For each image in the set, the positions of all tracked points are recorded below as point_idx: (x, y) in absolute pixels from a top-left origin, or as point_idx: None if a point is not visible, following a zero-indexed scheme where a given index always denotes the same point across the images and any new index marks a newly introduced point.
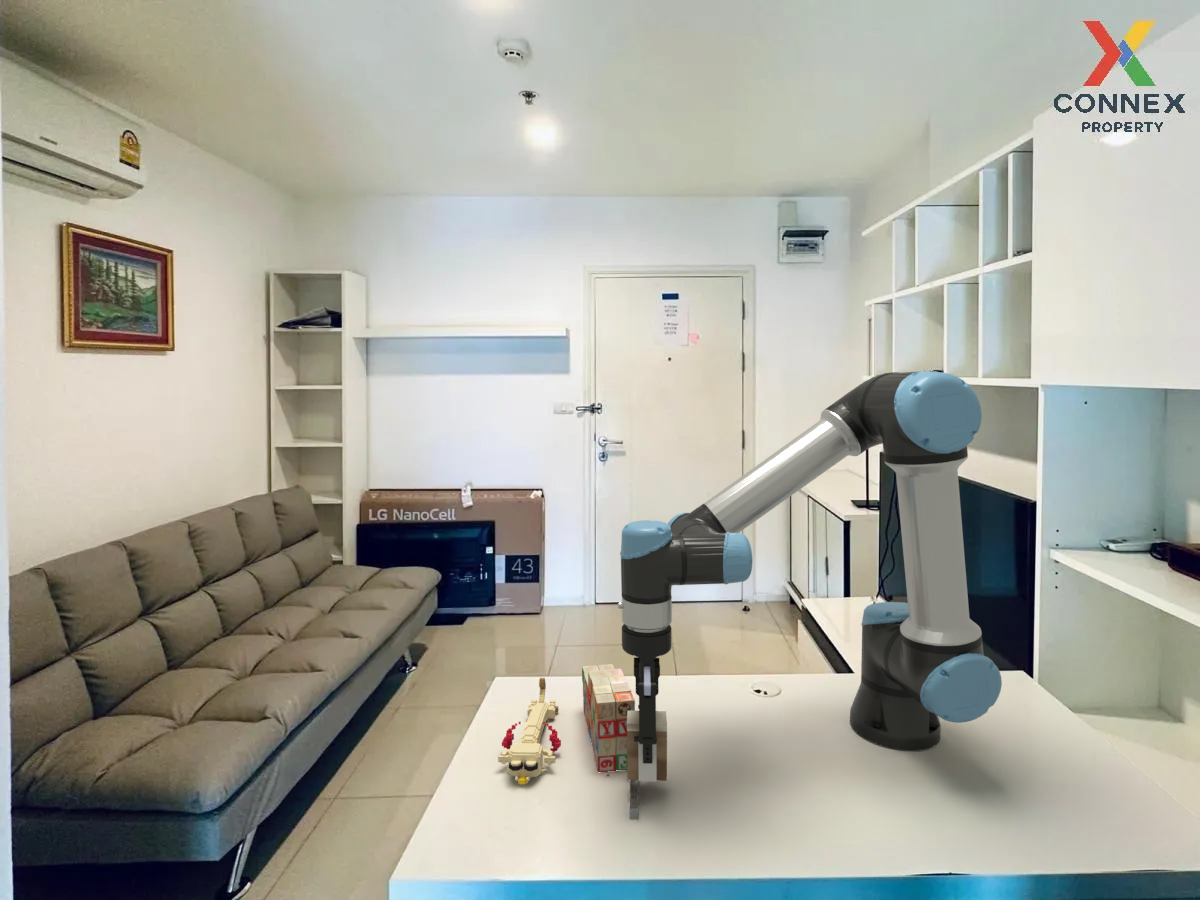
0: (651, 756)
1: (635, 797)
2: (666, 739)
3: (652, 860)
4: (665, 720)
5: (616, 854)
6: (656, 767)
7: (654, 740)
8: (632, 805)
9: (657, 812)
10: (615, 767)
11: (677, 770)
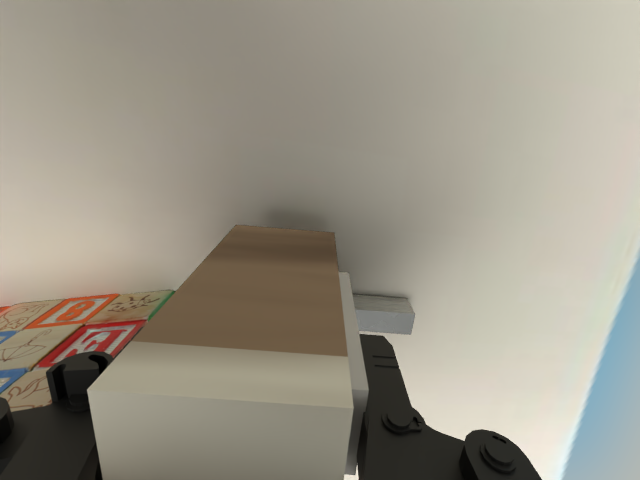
0: (397, 365)
1: (360, 316)
2: (343, 323)
3: (571, 277)
4: (283, 414)
5: (528, 352)
6: (351, 298)
7: (530, 477)
8: (397, 326)
9: (383, 246)
10: None
11: (163, 157)
